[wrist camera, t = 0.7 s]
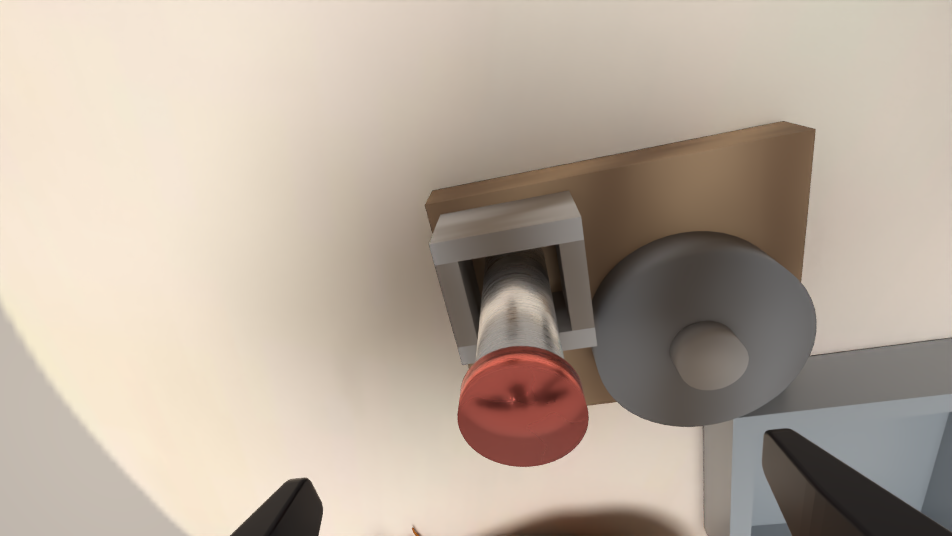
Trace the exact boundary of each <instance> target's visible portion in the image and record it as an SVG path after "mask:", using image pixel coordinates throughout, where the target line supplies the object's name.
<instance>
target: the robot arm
mask: <svg viewBox="0 0 952 536" xmlns="http://www.w3.org/2000/svg"><path fill="white" fill-rule="evenodd" d="M762 468H763V471H764V474H765V477H766V479H767V481H768V483H769V486H770V488H771V490H772V492H773V495H774V497H775V499H776V501H777V503H778V506H779V508H780V510H781V512H782V515H783V517H784V519H785V521H786V523H787V526H788V528H789V530H790V532H791V534H792V536H952V532H951V531H949V530H948V529H946V528H945V527H943V526H942V525H940V524H939V523H937V522H935V521H934V520H932V519H931V518H929V517H928V516H926V515H925V514H923V513H921V512H920V511H918V510H917V509H915V508H914V507H912V506H911V505H909V504H907V503H906V502H904V501H903V500H901V499H900V498H898V497H897V496H895V495H894V494H892V493H890V492H889V491H887V490H886V489H884V488H883V487H881V486H880V485H878V484H876V483H875V482H873V481H872V480H870V479H869V478H867V477H866V476H864V475H863V474H861V473H859V472H858V471H856V470H855V469H853V468H852V467H850V466H849V465H847V464H845V463H844V462H842V461H841V460H839V459H838V458H836V457H835V456H833V455H832V454H830V453H828V452H827V451H825V450H824V449H822V448H821V447H819V446H818V445H816V444H814V443H813V442H811V441H810V440H808V439H807V438H805V437H804V436H802V435H800V434H799V433H797V432H796V431H794V430H792V429H789V428H782V429H772V430H767V431H766V432H765V433H764V436H763V449H762ZM322 515H323V506H322V502H321V500H320V498H319V496H318V494H317V492H316V490H315V488H314V486H313V484H312V482H311V481H310V480H309V479H308V478H296V479H290V480H288V481H286V482H285V483H284V484H283V485H282V486H281V487H280V488H279V489H278V490H277V491H276V492H275V493H274V494H273V495H272V496H271V497H270V498H269V499H267V500H266V501H265V502H264V503H263V504H262V505H261V506H260V507H259V508H258V509H257V510H256V511H255V512H254V513H253V514H252V515H251V516H250V517H249V518H248V519H247V520H246V521H245V522H244V523H243V524H242V525H241V526H240V527H239V528H238V529H237V530H235V531H234V532H233V533H232V534H231V535H230V536H318V535H319V530H320V525H321V521H322Z"/></svg>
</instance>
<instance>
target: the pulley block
mask: <svg viewBox="0 0 952 536" xmlns="http://www.w3.org/2000/svg"><path fill="white" fill-rule="evenodd" d="M815 130H816V129H813V128H809V127H805V126H801V125H797V124H793V123H789V122H785V121H782V122H777V123H772V124H767V125H762V126H757V127H752V128H747V129H742V130H736V131H731V132H726V133H721V134H716V135H711V136H706V137H701V138H696V139H691V140H686V141H681V142H676V143H671V144H666V145H661V146H656V147H651V148H646V149H641V150H636V151H630V152H625V153H620V154H615V155H610V156H605V157H600V158H595V159H590V160H585V161H580V162H575V163H570V164H565V165H560V166H555V167H550V168H545V169H540V170H535V171H530V172H525V173H519V174H514V175H509V176H504V177H499V178H494V179H489V180H484V181H479V182H474V183H469V184H464V185H459V186H454V187H449V188H444V189H439V190H434V191H432V192H431V194H430V196H429V198H428V200H427V202H426V204H425V208H426V211H427V215H428V219H429V222H430V226H431V230H432V233H433V235H432V237H431V240H430V242H429V247H430V250H431V254H432V258H433V261H434V265H435V268H436V272H437V276H438V279H439V283H440V286H441V290H442V293H443V297H444V301H445V304H446V308H447V311H448V315H449V319H450V322H451V326H452V329H453V333H454V336H455V340H456V344H457V347H458V351H459V354H460V358H461V362H462V365H466V364H468V366H469V369H470V367H471V366H472V365H473V364H474V363H475V362H476V352H477V342H478V331H479V320H480V310H481V299H482V289H483V278H484V268H485V258H486V257H487V256H493V255H499V254H504V253H510V252H516V251H522V250H528V249H533V248H539V247H541V248H542V250H543V253H544V257H545V262H546V267H547V272H548V278H549V283H550V288H551V293H552V298H553V303H554V309H555V314H556V319H557V324H558V329H559V334H560V340H561V345H562V350H563V355H564V360H566V361H567V362H568V363H569V364H570V365H571V366H572V367H573V368H574V370H575V371H576V373H577V374H578V376H579V378H580V380H581V383H582V388H583V392H584V396H585V400H586V405H596V404H604V403H612V402H618V403H619V404H620V405H621V406H622V407H624V408H625V409H627V410H628V411H630V412H631V413H633V414H635V415H637V416H639V417H641V418H643V419H646V420H649V421H652V422H655V423H659V424H663V425H670V426H679V427H695V426H706V425H713V424H718V423H722V422H726V421H730V420H733V419H735V418H738V417H741V416H744V415H746V414H748V413H750V412H752V411H754V410H756V409H758V408H760V407H761V406H763V405H765V404H767V403H768V402H769V401H771V400H772V399H774V398H775V397H776V396H778V395H779V394H780V393H781V392H782V391H783V390H785V389H786V388H787V387H788V386H789V385H790V384H791V382H792V381H793V380H794V379H795V378H796V377H797V375H798V374H799V373H800V371H801V370H802V368H803V367H804V365H805V363H806V362H807V360H808V358H809V356H810V353H811V351H812V348H813V345H814V341H815V336H816V314H815V308H814V305H813V302H812V300H811V297H810V295H809V294H808V292H807V290H806V288H805V287H804V286H803V285H802V283H801V277H802V267H803V256H804V246H805V235H806V225H807V214H808V204H809V193H810V183H811V172H812V162H813V151H814V141H815Z"/></svg>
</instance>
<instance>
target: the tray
mask: <svg viewBox="0 0 952 536" xmlns="http://www.w3.org/2000/svg"><path fill="white" fill-rule="evenodd" d="M782 428H789V429H792V430H794V431H796V432H797V433H799V434H800V435H802V436H804V437H805V438H807V439H808V440H810V441H811V442H813V443H814V444H816V445H818V446H819V447H821V448H822V449H824V450H825V451H827V452H828V453H830V454H832V455H833V456H835V457H836V458H838V459H839V460H841V461H842V462H844V463H845V464H847V465H849V466H850V467H852V468H853V469H855V470H856V471H858V472H859V473H861V474H863V475H864V476H866V477H867V478H869V479H870V480H872V481H873V482H875V483H876V484H878V485H880V486H881V487H883V488H884V489H886V490H887V491H889V492H890V493H892V494H894V495H895V496H897V497H898V498H900V499H901V500H903V501H904V502H906V503H907V504H909V505H911V506H912V507H914V508H915V509H917V510H918V511H920V512H921V513H923V514H925V515H926V516H928V517H929V518H931V519H932V520H934V521H935V522H937V523H939V524H940V525H942V526H943V527H945V528H946V529H948V530H949V531H951V532H952V338H949V339H941V340H933V341H925V342H917V343H910V344H902V345H894V346H886V347H879V348H871V349H863V350H855V351H847V352H840V353H832V354H824V355H816V356H809V358H808V360H807V362H806V363H805V365H804V367H803V368H802V370H801V371H800V373H799V374H798V375H797V377H796V378H795V379H794V380H793V381H792V382H791V384H790V385H789V386H788V387H787V388H786V389H785V390H783V391H782V392H781V393H780V394H779V395H778V396H776V397H775V398H774V399H772V400H771V401H769V402H768V403H767V404H765V405H763V406H761V407H760V408H758V409H756V410H754V411H752V412H750V413H748V414H746V415H744V416H741V417H738V418H735V419H733V420H730V421H726V422H722V423H718V424H713V425H706V426H703V431H704V528H705V531H706V533H707V536H792V534H791V532H790V530H789V528H788V526H787V523H786V521H785V519H784V517H783V515H782V512H781V510H780V508H779V506H778V503H777V501H776V499H775V497H774V495H773V492H772V490H771V488H770V486H769V483H768V481H767V479H766V477H765V474H764V471H763V468H762V449H763V436H764V433H765V432H766V431H767V430H772V429H782Z"/></svg>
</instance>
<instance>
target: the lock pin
mask: <svg viewBox="0 0 952 536" xmlns="http://www.w3.org/2000/svg"><path fill="white" fill-rule="evenodd" d="M588 420H589V417H588V409H587V405H586V400H585V396H584V392H583V388H582V383H581V380H580V378H579V376H578V374H577V373H576V371H575V370H574V368H573V367H572V366H571V365H570V364H569V363H568V362H567V361H566V360H564V355H563V350H562V345H561V340H560V334H559V329H558V324H557V319H556V314H555V309H554V303H553V298H552V293H551V288H550V283H549V278H548V272H547V267H546V262H545V257H544V253H543V250H542V248H541V247H539V248H533V249H528V250H522V251H516V252H510V253H504V254H499V255H493V256H487V257H486V258H485V268H484V278H483V289H482V299H481V310H480V320H479V331H478V342H477V352H476V362H475V363H474V364H473V365H472V366H471V367H470V369H469V370H468V371H467V373H466V375H465V377H464V379H463V382H462V385H461V392H460V400H459V407H458V425H459V429H460V431H461V434H462V435H463V437H464V439H465V440H466V442H467V443H468V444H469V445H470V446H471V447H472V448H473V449H474V450H475V451H476V452H478V453H479V454H481V455H482V456H484V457H486V458H488V459H490V460H492V461H494V462H497V463H500V464H505V465H509V466H518V467H529V466H538V465H543V464H547V463H550V462H553V461H556V460H558V459H560V458H562V457H563V456H565V455H567V454H568V453H569V452H571V451H572V450H573V449H574V448H575V447H576V446H577V445H578V444H579V443H580V441H581V440H582V438H583V437H584V435H585V433H586V430H587V426H588Z"/></svg>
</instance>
